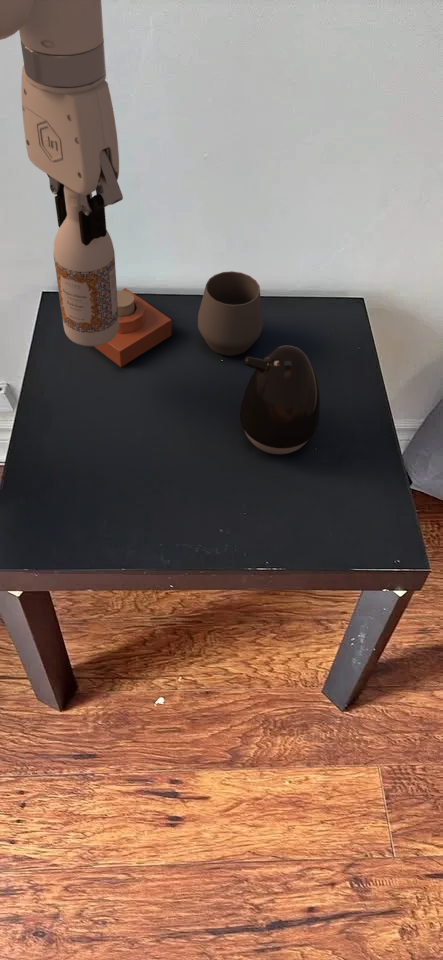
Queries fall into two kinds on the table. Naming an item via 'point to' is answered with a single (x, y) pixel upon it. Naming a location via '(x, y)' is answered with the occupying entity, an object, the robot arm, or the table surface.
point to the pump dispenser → (281, 401)
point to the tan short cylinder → (125, 303)
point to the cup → (230, 313)
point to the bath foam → (85, 280)
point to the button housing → (137, 333)
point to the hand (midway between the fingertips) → (82, 230)
